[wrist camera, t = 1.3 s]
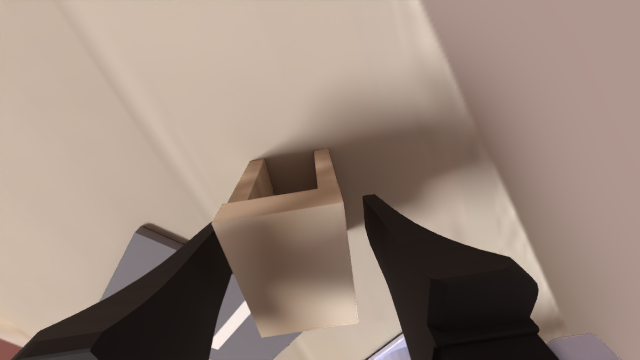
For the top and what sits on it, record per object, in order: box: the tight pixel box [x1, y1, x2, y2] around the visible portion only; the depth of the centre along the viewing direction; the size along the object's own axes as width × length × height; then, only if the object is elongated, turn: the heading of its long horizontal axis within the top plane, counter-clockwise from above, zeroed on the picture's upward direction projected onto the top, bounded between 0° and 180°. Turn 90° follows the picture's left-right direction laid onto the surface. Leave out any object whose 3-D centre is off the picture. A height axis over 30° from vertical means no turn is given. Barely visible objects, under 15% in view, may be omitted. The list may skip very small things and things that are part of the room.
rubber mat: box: [100, 226, 303, 360], centre depth 18 cm, size 14×10×1 cm
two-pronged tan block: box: [211, 149, 359, 338], centre depth 12 cm, size 4×6×6 cm
